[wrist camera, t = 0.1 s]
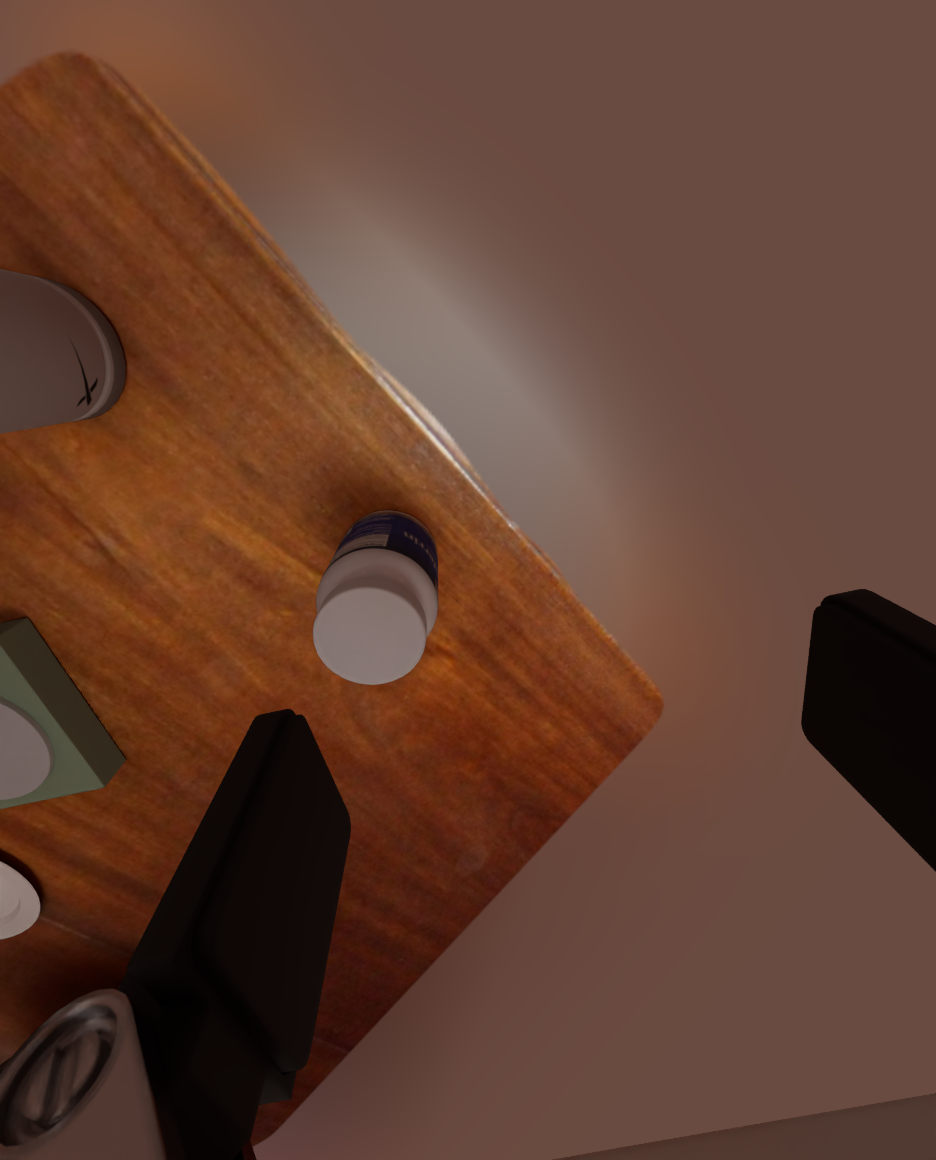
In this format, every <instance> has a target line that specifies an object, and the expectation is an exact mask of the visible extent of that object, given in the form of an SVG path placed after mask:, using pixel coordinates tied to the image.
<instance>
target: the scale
mask: <svg viewBox="0 0 936 1160" xmlns="http://www.w3.org/2000/svg"><path fill="white" fill-rule="evenodd" d="M125 761H126V759H125V757H124V756H123V755H122V753H121V752H120V750H119V749H118V747H117V746H116V744H115V743H114V742H113V740H112V739H111V737H110V736H109V734H108V733H107V731H106V730H105V729H104V727H103V726H102V724H101V723H100V721H99V720H98V718H97V717H96V716H95V714H94V713H93V711H92V710H91V708H90V707H89V705H88V704H87V703H86V701H85V700H84V698H83V697H82V695H81V694H80V692H79V691H78V690H77V688H76V687H75V685H74V684H73V682H72V681H71V679H70V678H69V677H68V675H67V674H66V672H65V671H64V669H63V668H62V666H61V665H60V664H59V662H58V661H57V659H56V658H55V656H54V655H53V653H52V652H51V651H50V649H49V648H48V646H47V645H46V643H45V642H44V640H43V639H42V638H41V636H40V635H39V633H38V632H37V630H36V629H35V627H34V626H33V624H32V623H31V622H30V620H29V619H28V618H22V619H17V620H13V621H8V622H4V623H0V809H2V808H7V807H12V806H17V805H22V804H27V803H31V802H36V801H41V800H46V799H51V798H56V797H61V796H65V795H70V794H75V793H80V792H85V791H90V790H95V789H100V788H104V787H105V786H106V785H107V784H108V782H109V781H110V780H111V779H112V777H113V776H114V775H115V773H116V772H117V771H118V770H119V768H120V767H121V766H122V764H123V763H124V762H125Z"/></svg>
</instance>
